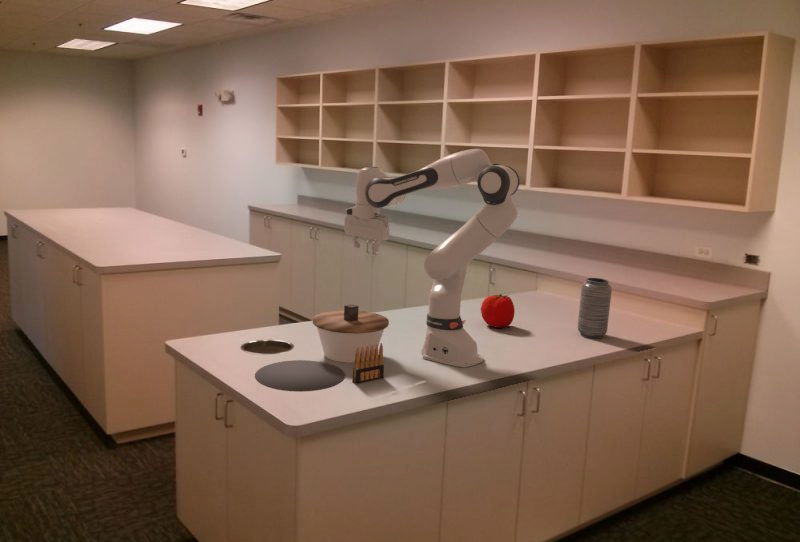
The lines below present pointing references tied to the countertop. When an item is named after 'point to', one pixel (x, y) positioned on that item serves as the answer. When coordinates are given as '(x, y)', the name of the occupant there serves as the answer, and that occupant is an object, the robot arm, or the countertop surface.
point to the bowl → (347, 344)
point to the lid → (350, 321)
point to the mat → (299, 375)
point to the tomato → (498, 310)
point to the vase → (594, 307)
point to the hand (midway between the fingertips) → (365, 249)
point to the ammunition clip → (368, 365)
